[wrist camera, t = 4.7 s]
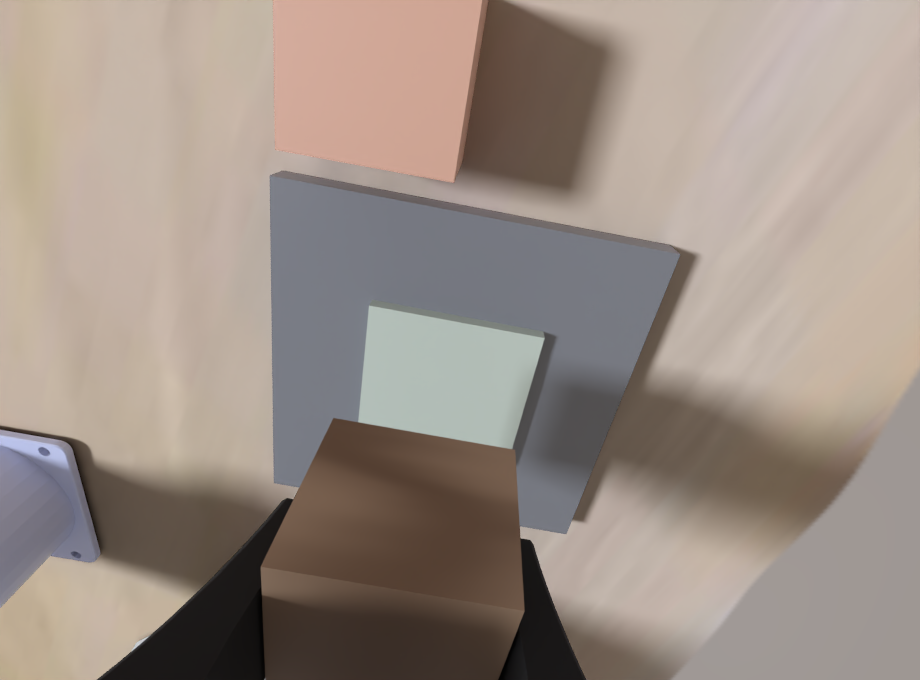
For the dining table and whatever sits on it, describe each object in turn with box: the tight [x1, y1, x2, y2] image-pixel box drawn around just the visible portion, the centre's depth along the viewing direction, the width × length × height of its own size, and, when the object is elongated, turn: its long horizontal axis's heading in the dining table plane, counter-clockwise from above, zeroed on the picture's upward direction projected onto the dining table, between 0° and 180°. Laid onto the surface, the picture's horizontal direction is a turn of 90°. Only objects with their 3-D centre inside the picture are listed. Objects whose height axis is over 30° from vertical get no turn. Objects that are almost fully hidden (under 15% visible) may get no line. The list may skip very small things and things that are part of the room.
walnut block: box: [261, 418, 525, 680], centre depth 11 cm, size 4×4×4 cm
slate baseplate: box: [270, 171, 680, 534], centre depth 18 cm, size 13×13×2 cm
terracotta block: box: [273, 0, 489, 183], centre depth 12 cm, size 4×4×4 cm
